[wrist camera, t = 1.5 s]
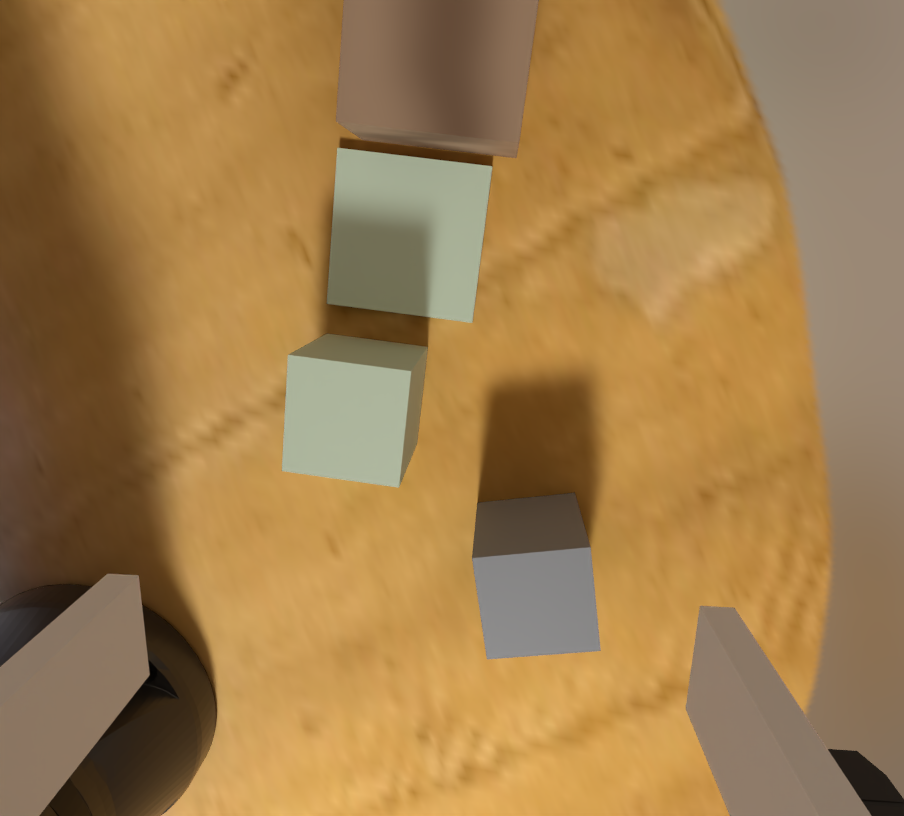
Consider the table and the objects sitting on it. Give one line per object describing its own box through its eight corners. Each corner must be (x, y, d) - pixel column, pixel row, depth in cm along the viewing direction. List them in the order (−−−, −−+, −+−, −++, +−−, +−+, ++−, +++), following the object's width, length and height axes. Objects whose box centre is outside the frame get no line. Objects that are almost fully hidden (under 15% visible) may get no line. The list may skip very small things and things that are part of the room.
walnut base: (363, 140, 29) (335, 121, 24) (376, -35, 27) (350, -93, 23) (516, 158, 29) (519, 142, 24) (540, -18, 27) (548, -73, 22)
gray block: (489, 588, 34) (486, 659, 29) (477, 502, 33) (472, 558, 27) (583, 580, 34) (600, 650, 28) (574, 492, 33) (590, 547, 27)
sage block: (320, 429, 33) (281, 470, 27) (327, 333, 32) (288, 354, 26) (417, 443, 33) (399, 487, 27) (428, 346, 31) (411, 371, 26)
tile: (328, 302, 31) (326, 303, 31) (339, 148, 29) (337, 147, 29) (472, 321, 31) (472, 322, 30) (492, 167, 29) (492, 166, 28)
